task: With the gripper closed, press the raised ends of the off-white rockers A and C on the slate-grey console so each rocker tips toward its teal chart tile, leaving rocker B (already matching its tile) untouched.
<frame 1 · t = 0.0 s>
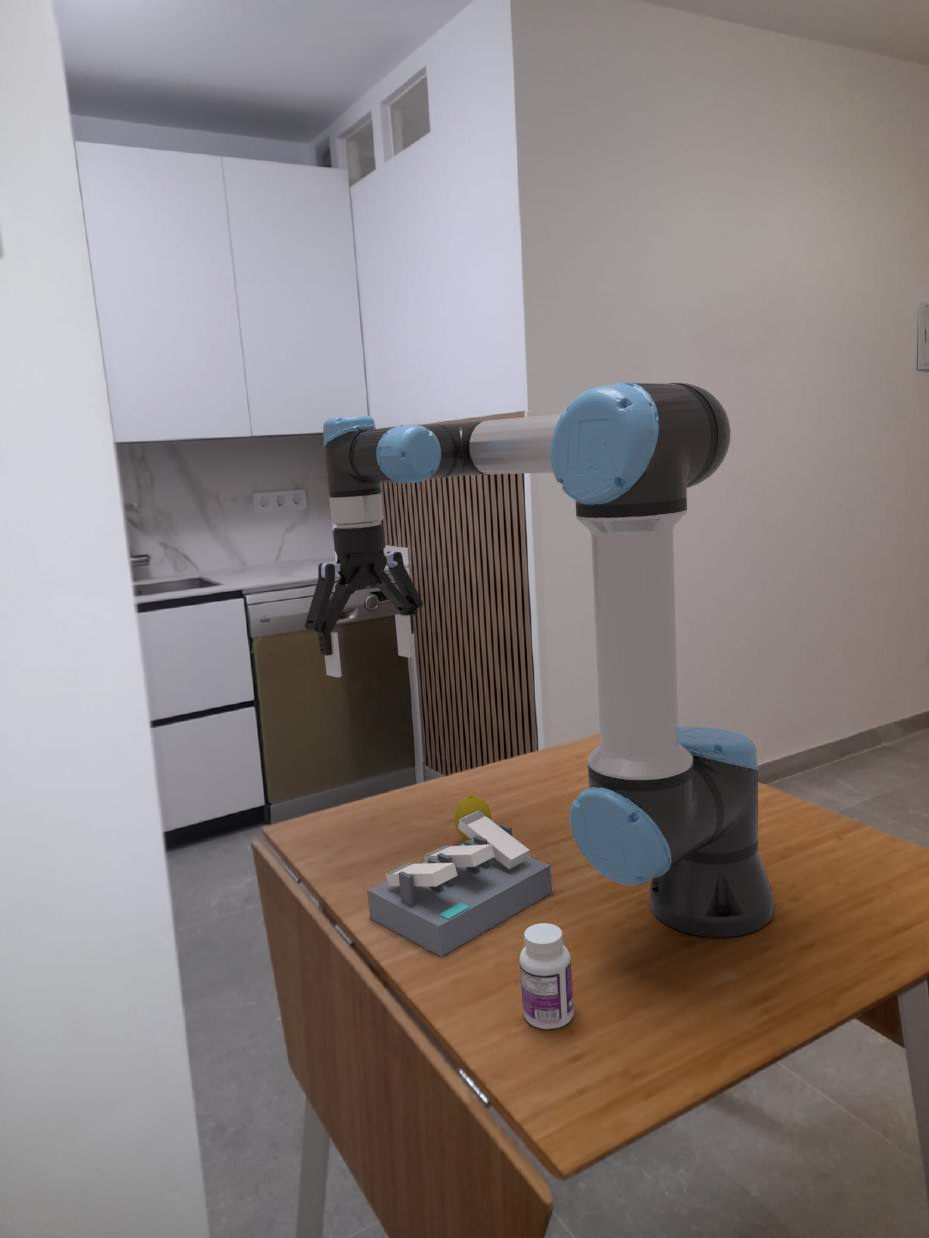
hand: (371, 665, 137), 28 cm above the table, fingers open, 13 cm apart
rocker B: (458, 855, 119), point 7 cm above the table, hinge at 18.0°
console: (462, 905, 120), on the table
lemon: (475, 845, 138), on the table
rocker C: (420, 874, 115), point 7 cm above the table, hinge at 18.0°
pill bottle: (548, 1016, 96), on the table
rocker A: (493, 838, 123), point 7 cm above the table, hinge at -18.0°
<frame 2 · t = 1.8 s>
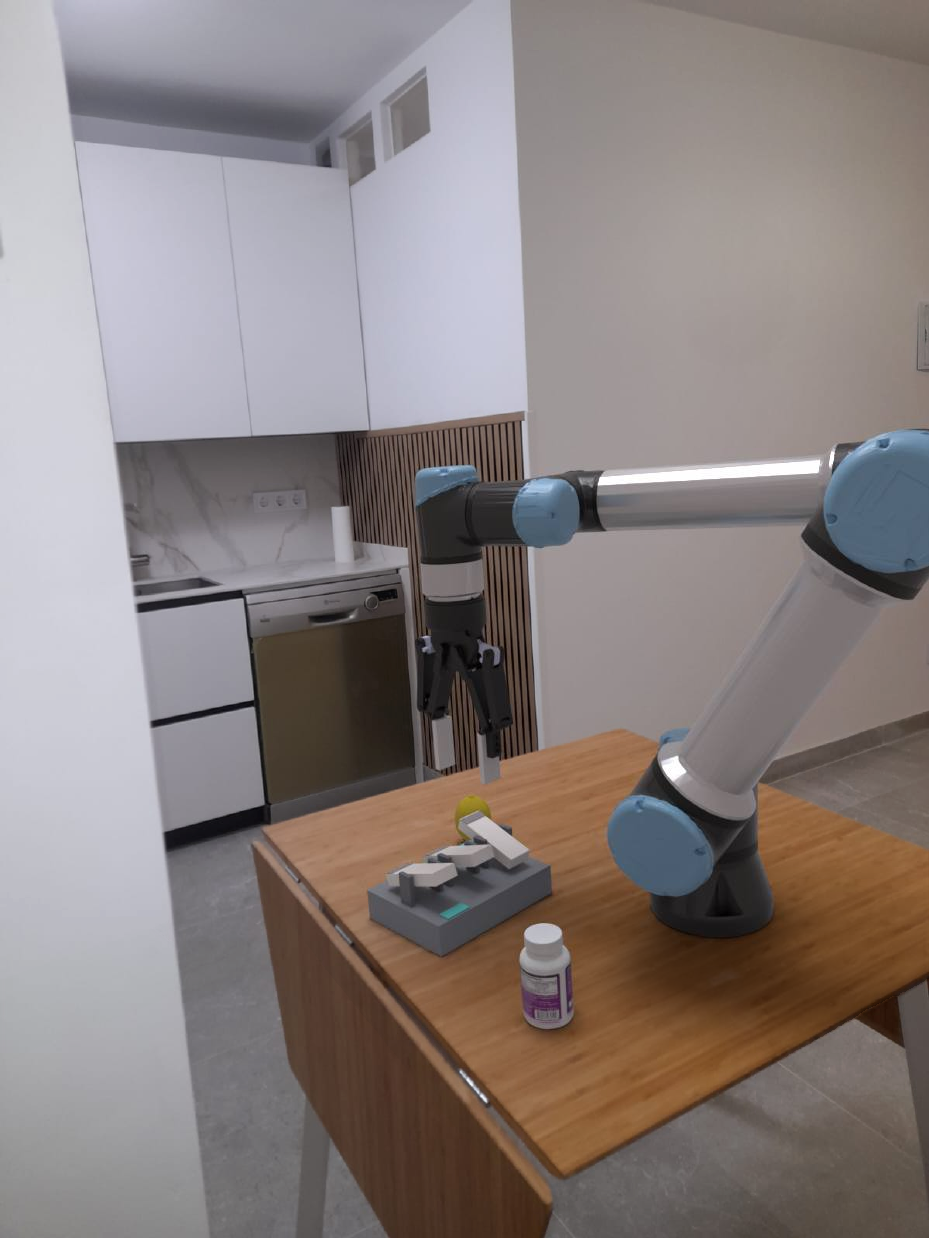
hand: (467, 773, 114), 19 cm above the table, fingers open, 8 cm apart
nothing on the table moved.
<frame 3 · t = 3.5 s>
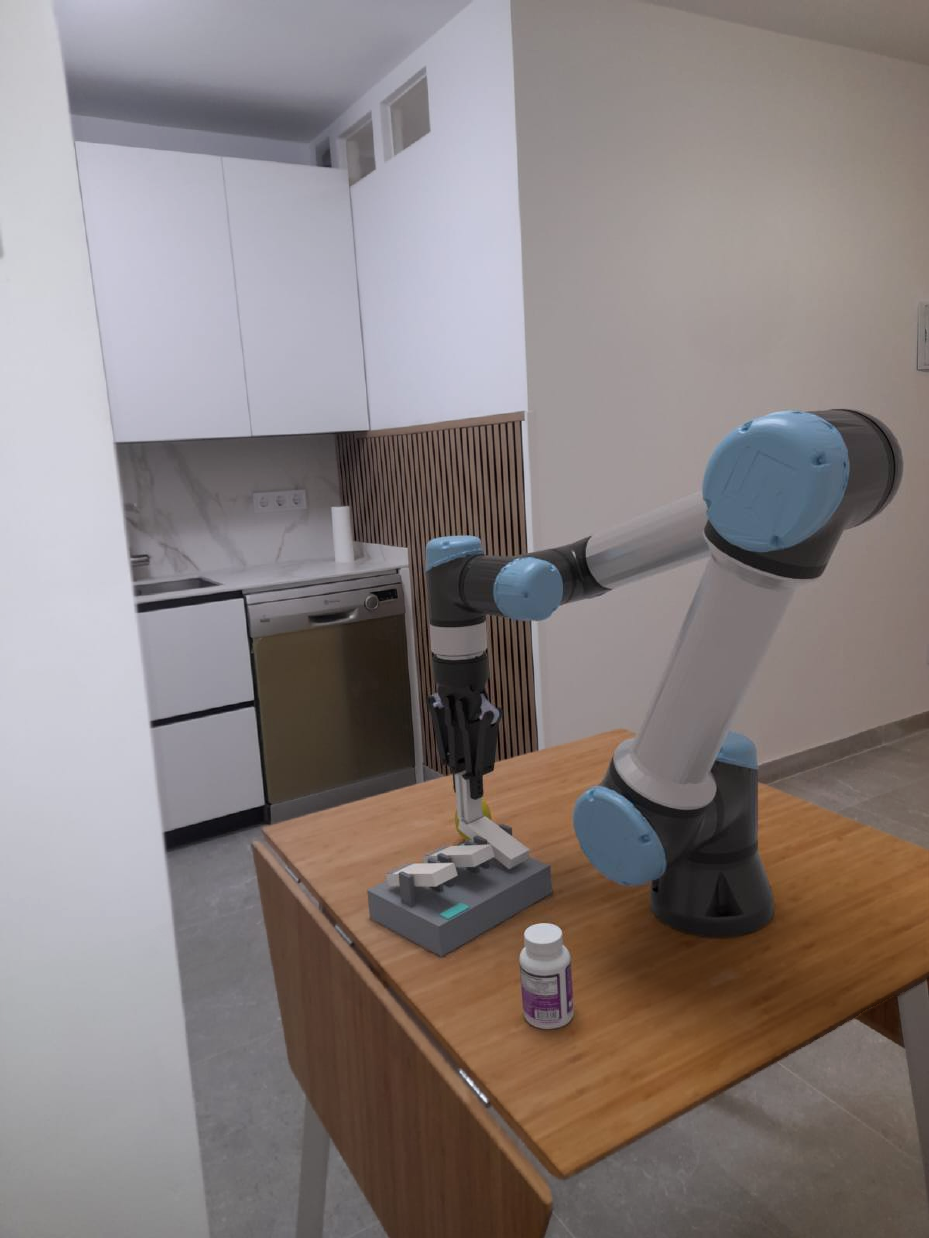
hand: (470, 817, 126), 9 cm above the table, fingers closed
rocker A: (493, 838, 123), point 7 cm above the table, hinge at -17.5°, touching gripper
everything else where it was.
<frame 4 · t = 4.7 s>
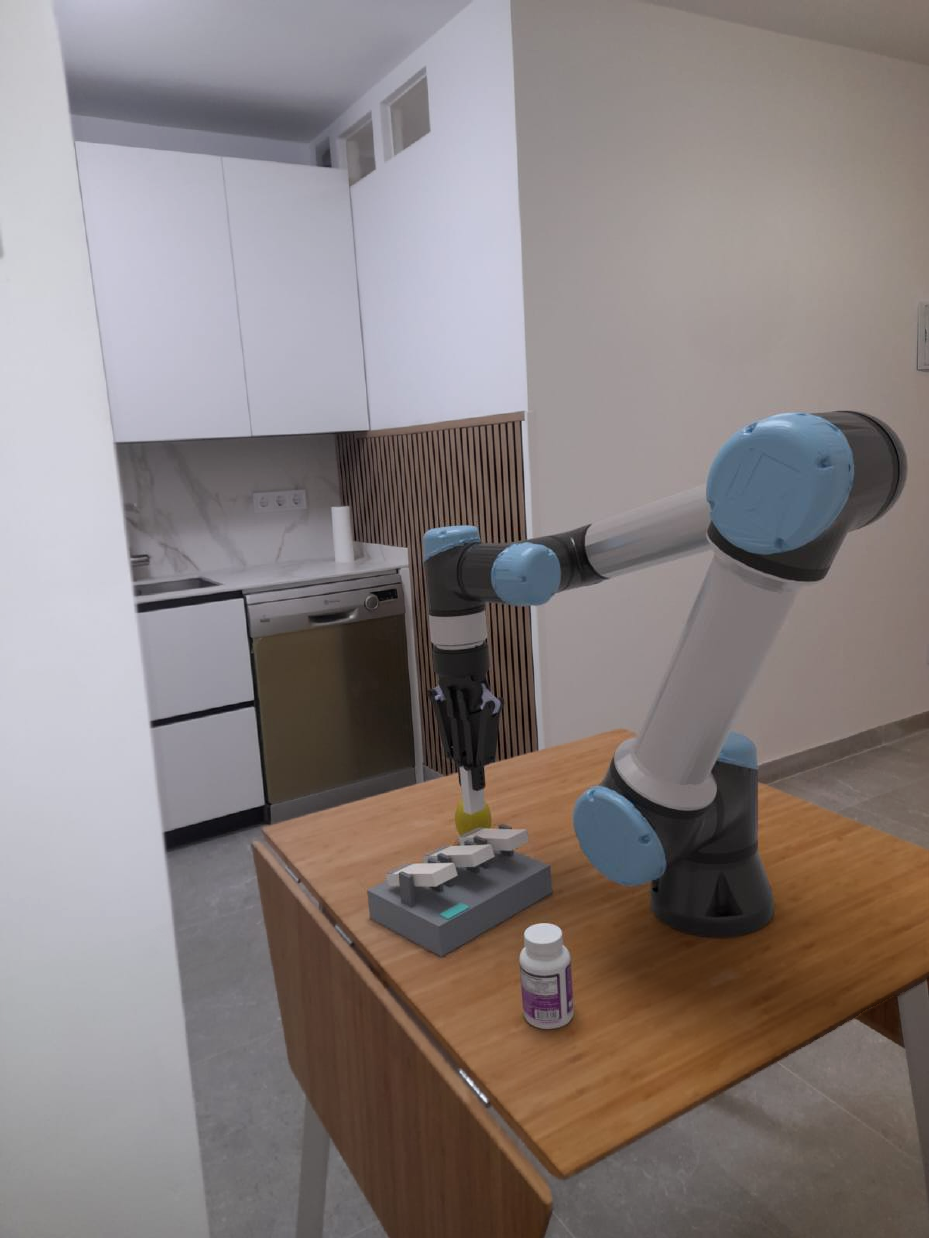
hand: (474, 810, 125), 10 cm above the table, fingers closed
rocker A: (493, 838, 123), point 7 cm above the table, hinge at 14.5°
everything else where it was.
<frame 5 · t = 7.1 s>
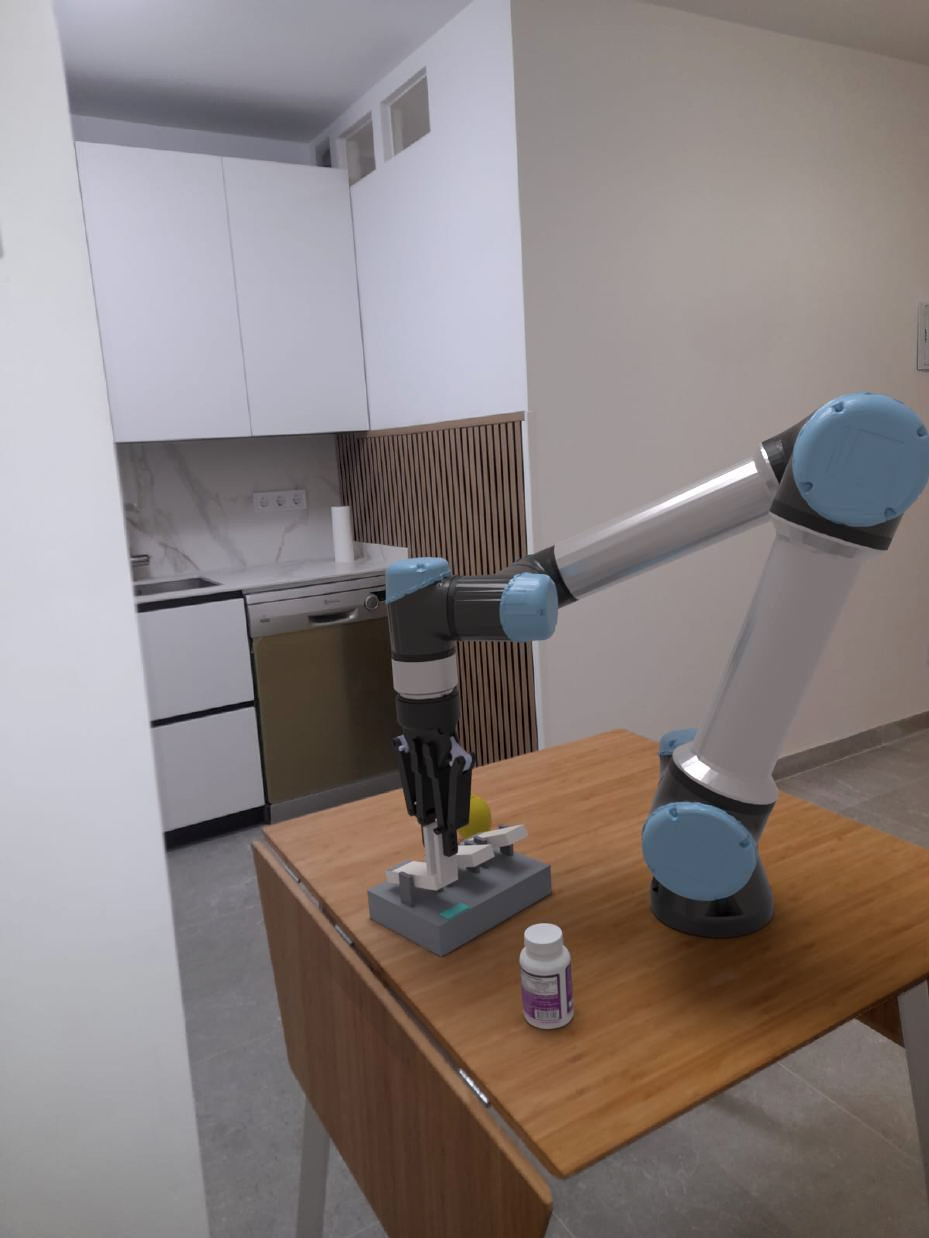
hand: (442, 875, 111), 8 cm above the table, fingers closed, pressing on rocker C
rocker C: (420, 874, 115), point 7 cm above the table, hinge at 12.1°, touching gripper
rocker A: (493, 838, 123), point 7 cm above the table, hinge at 23.3°
everything else where it was.
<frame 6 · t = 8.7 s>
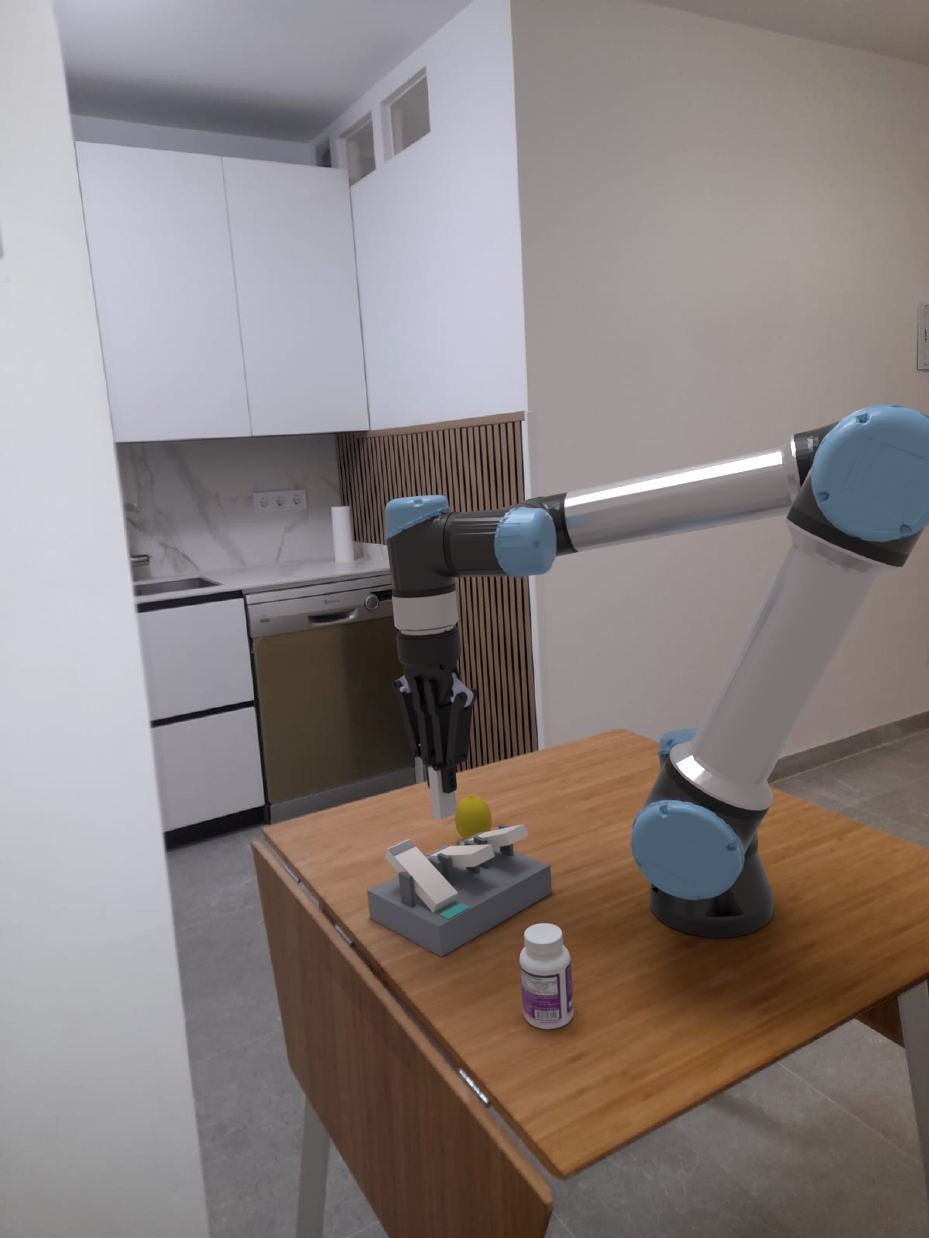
hand: (444, 814, 112), 15 cm above the table, fingers closed
rocker C: (420, 874, 114), point 7 cm above the table, hinge at -27.5°, touching console
everything else where it was.
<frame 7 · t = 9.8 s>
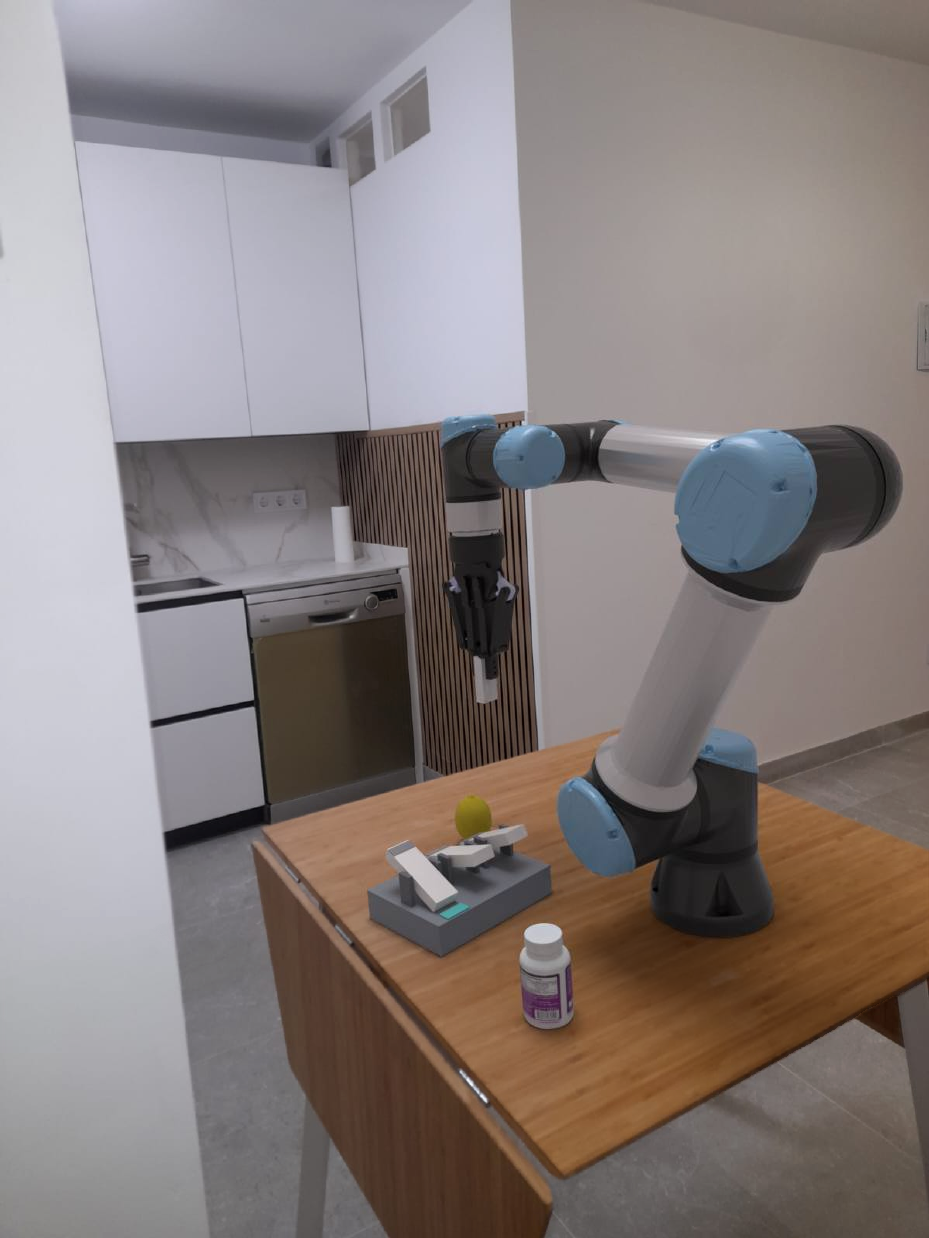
hand: (487, 700, 127), 24 cm above the table, fingers closed
rocker C: (420, 874, 114), point 7 cm above the table, hinge at -26.0°
everything else where it was.
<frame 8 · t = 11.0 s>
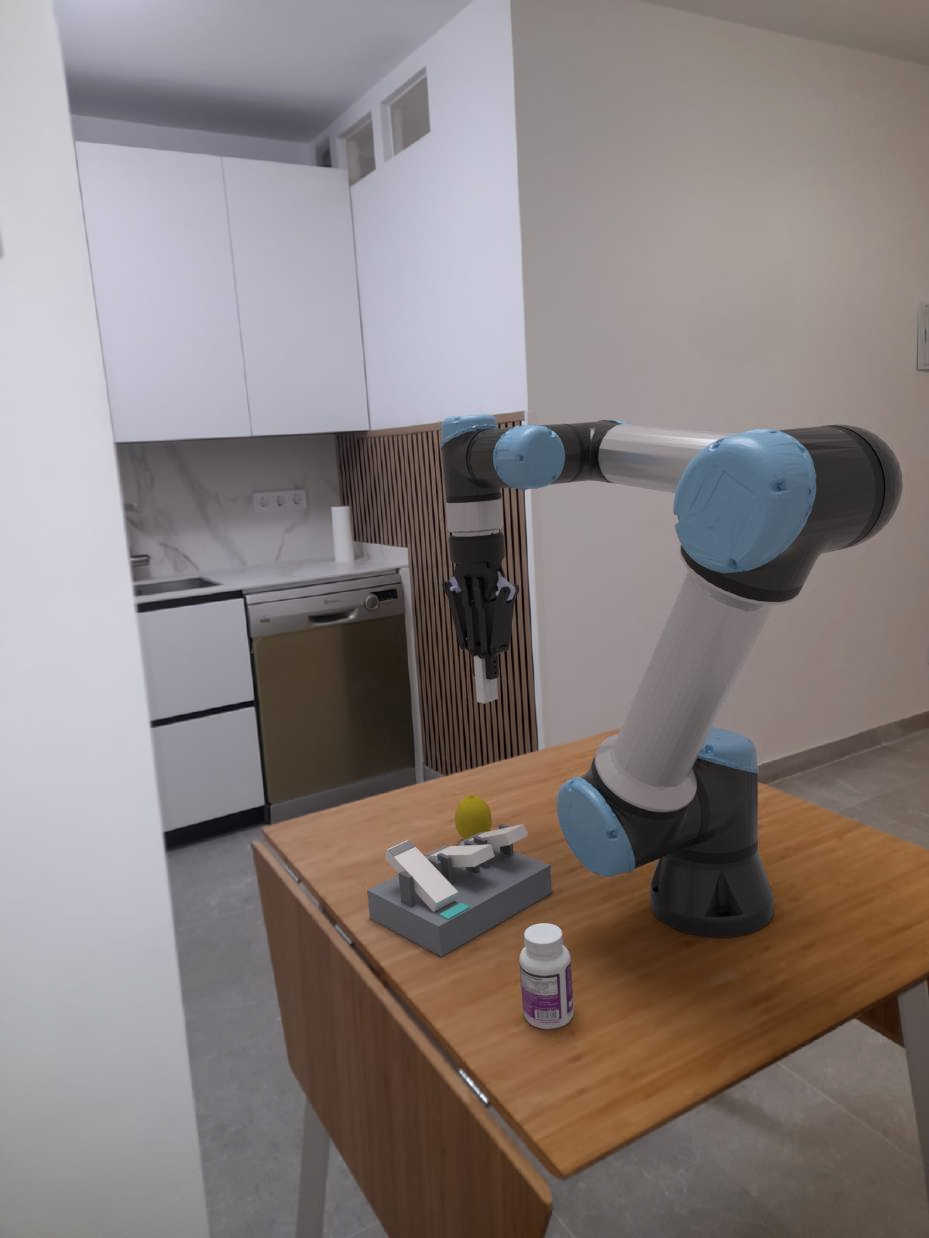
hand: (487, 700, 127), 24 cm above the table, fingers closed
rocker C: (420, 874, 114), point 7 cm above the table, hinge at -25.7°
everything else where it was.
at the end: rocker A at +24° (first picture: -18°); rocker B at +18° (first picture: +18°); rocker C at -26° (first picture: +18°) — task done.
